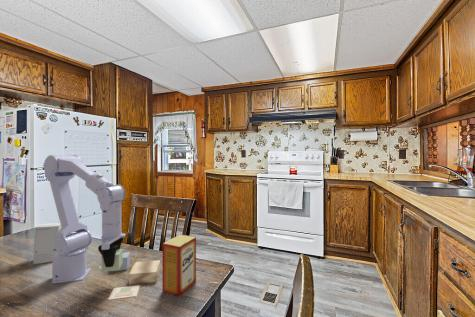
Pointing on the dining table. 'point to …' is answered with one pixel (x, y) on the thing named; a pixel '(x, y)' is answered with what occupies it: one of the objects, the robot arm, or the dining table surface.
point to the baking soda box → (179, 264)
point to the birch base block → (145, 272)
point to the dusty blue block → (125, 261)
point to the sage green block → (117, 262)
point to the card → (124, 292)
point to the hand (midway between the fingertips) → (112, 262)
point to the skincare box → (45, 242)
